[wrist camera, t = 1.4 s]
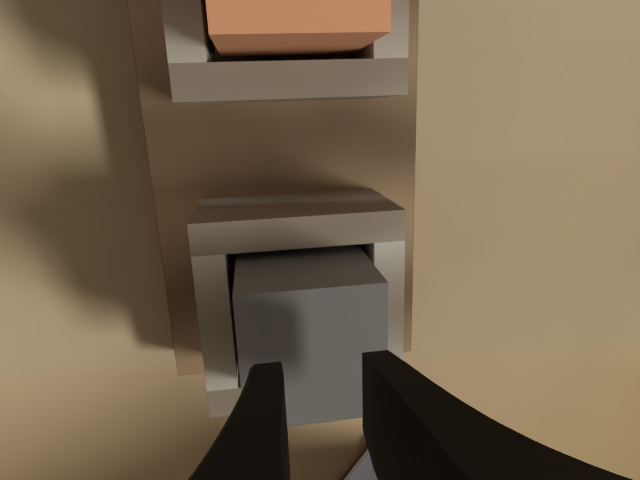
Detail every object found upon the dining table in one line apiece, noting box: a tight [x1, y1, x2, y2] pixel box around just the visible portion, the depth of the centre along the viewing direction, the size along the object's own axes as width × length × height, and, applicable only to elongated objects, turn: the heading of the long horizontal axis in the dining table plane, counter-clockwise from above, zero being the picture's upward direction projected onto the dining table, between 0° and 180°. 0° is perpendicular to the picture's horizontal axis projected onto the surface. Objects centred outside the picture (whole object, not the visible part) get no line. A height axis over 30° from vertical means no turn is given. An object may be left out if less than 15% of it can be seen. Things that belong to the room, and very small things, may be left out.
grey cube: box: [232, 244, 388, 427], centre depth 14 cm, size 4×4×4 cm
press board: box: [127, 0, 419, 418], centre depth 16 cm, size 18×10×6 cm, turn 2°
